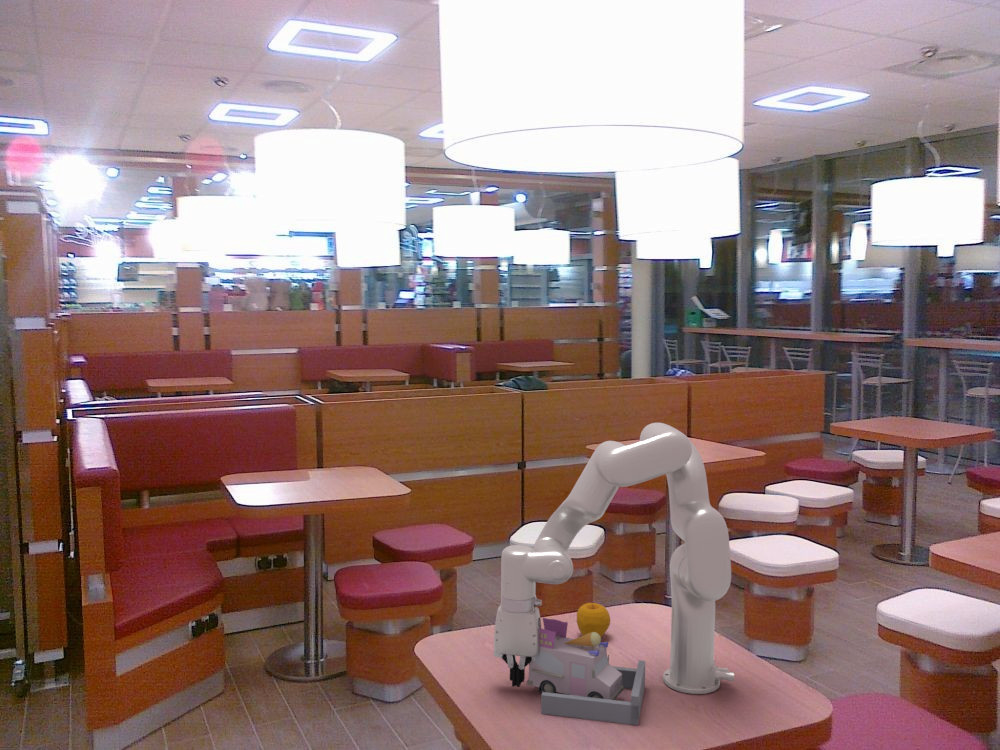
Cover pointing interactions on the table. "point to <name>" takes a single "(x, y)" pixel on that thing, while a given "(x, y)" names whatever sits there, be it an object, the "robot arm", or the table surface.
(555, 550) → the robot arm
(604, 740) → the table surface
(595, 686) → the toy vehicle
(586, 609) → the apple
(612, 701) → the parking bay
